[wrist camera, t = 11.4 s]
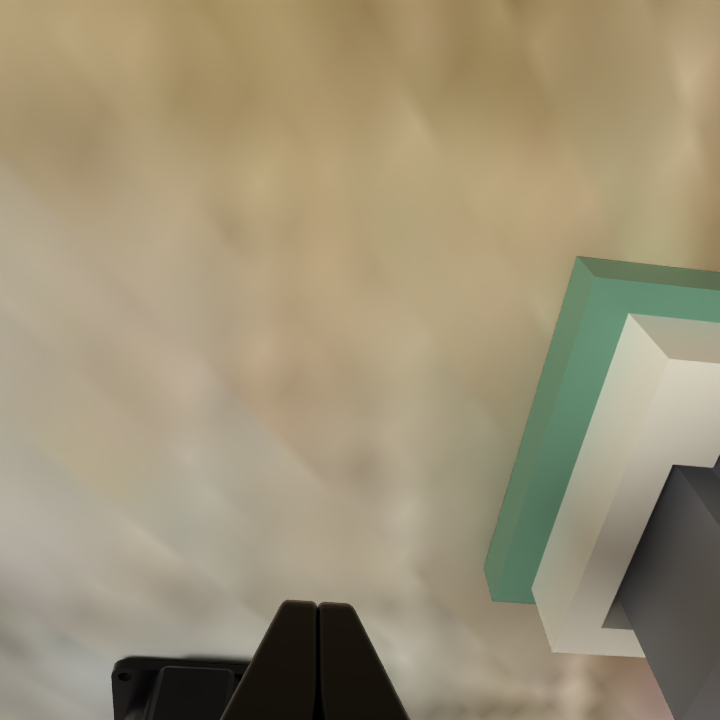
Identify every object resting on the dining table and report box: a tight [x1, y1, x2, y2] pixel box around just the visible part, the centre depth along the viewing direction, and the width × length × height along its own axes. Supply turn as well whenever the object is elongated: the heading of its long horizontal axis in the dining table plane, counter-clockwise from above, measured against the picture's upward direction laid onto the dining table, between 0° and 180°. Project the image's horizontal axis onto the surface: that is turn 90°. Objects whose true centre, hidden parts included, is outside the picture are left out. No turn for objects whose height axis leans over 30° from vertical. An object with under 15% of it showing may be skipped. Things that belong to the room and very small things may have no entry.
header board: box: [484, 256, 720, 658], centre depth 21 cm, size 12×10×4 cm
